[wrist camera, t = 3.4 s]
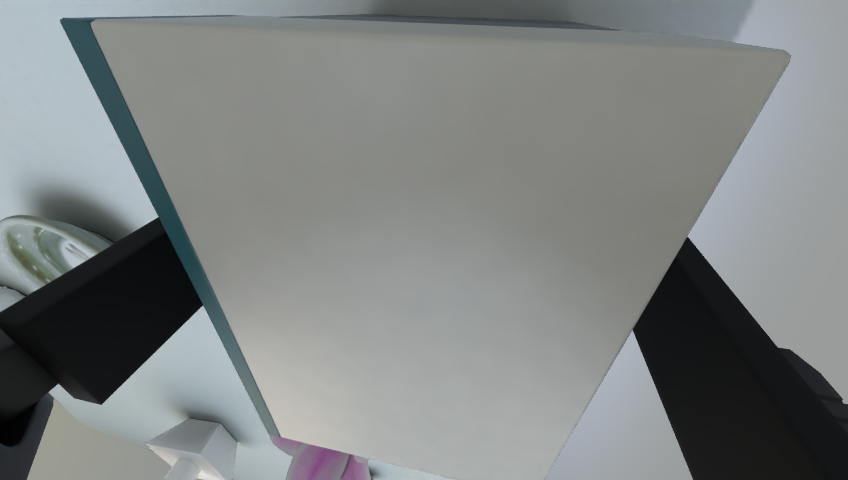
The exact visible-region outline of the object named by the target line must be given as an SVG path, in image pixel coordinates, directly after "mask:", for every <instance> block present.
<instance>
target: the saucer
mask: <svg viewBox="0 0 848 480" xmlns="http://www.w3.org/2000/svg"><path fill="white" fill-rule="evenodd" d="M113 244H114V243H113V242H111V241H110V240H108V239H106V238H105V237H103V236H101V235H99V234H96V233H93V232H90V231H86V230H83V229H81V228H79V227H76V226H73V225H71V224H68V223H64V222H60V221H56V220H51V219H43V218H39V217H35V216H28V215H16V216H11V217H7V218H5V219H3V220H1V221H0V249H1V251H2V253H3V254H4V256H5V257H6V259H7V260H8V261H9V263H10V264H11V265H12V266H13V267H14V269H15V270H16V271H17V272H18V273H19V274H20V275H21V276H22V277H23V278H24V279H25V280H26V281H28V282H29V283H30V284H31V285H32V286H33V287H34V288H36V289H37V290H38V289H39V288H41V287H43V286H45V285H46V284H48V283H50V282H51V281H53V280H55V279H56V278H58V277H60V276H61V275H63V274H65V273H66V272H68V271H70V270H71V269H73V268H75V267H76V266H78V265H80V264H81V263H83V262H85V261H86V260H88V259H90V258H91V257H93V256H95V255H96V254H98V253H100V252H101V251H103V250H105V249H106V248H108V247H110V246H111V245H113Z"/></svg>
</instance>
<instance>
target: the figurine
mask: <svg viewBox="0 0 848 480" xmlns="http://www.w3.org/2000/svg"><path fill="white" fill-rule="evenodd" d="M145 445H147V446H148V447H149V448H150V449H151V450H153V451H154V452H155V453H156V454H157V455H159V456H160V457H161V458H162V459H163V460H164V461H166V462H167V463H168V464H169V465H170V466H172V468H171V469H170V471H169V472H168V473H167V475H166V476H165V478H164V479H163V480H196V478H200V479H205V480H233V475H234V466H235V457H236V448H237V442H236V441H235V440H234V438H233V437H232V436H231V435H230V434H229V433H228V432H227V430H226V429H225V428H224V427H223V426H222V425H221V424H220V423H215V422H209V421H203V420H196V419H190V418H189V419H187V420H186V421H184V422H182V423H180V424H179V425H177V426H175V427H173V428H171V429H170V430H168V431H166V432H164V433H163V434H161V435H159V436H157V437H155V438H154V439H152V440H150V441H148V442H147V443H145Z"/></svg>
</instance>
